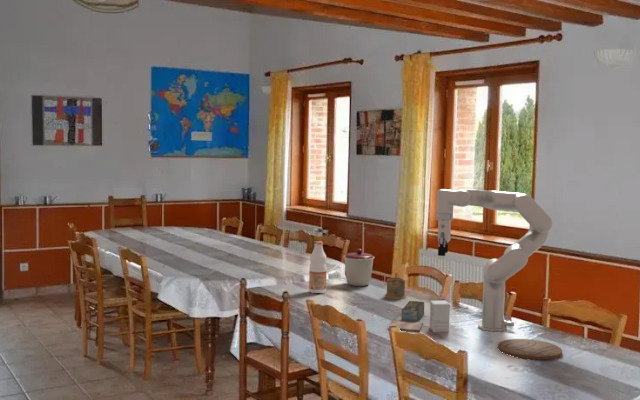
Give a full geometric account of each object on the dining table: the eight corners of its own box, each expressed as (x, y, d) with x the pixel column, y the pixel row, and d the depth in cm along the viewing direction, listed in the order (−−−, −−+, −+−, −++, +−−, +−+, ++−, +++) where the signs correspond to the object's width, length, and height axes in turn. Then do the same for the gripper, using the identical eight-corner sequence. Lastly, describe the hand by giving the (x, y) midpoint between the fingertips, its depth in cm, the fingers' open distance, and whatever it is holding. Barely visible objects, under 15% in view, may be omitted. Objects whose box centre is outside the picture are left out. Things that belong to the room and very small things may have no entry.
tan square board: (422, 324, 329) (422, 322, 328) (419, 332, 315) (419, 330, 315) (392, 322, 332) (392, 319, 332) (387, 329, 318) (387, 327, 318)
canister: (336, 283, 418) (337, 248, 416) (358, 280, 430) (359, 245, 428) (358, 289, 404) (359, 252, 403) (380, 285, 416) (381, 249, 415)
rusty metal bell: (405, 292, 398) (406, 271, 397) (406, 299, 380) (407, 277, 379) (385, 291, 399) (385, 270, 398) (384, 298, 382) (385, 276, 381)
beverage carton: (400, 321, 334) (400, 307, 333) (408, 312, 352) (408, 299, 351) (417, 323, 331) (417, 309, 331) (424, 314, 350) (425, 301, 349)
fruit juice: (305, 292, 393) (306, 241, 391) (317, 289, 400) (318, 240, 398) (317, 294, 387) (318, 243, 384) (329, 292, 393) (330, 242, 391)
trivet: (573, 353, 290) (573, 348, 290) (542, 365, 273) (542, 360, 272) (517, 339, 308) (518, 335, 308) (485, 350, 290) (485, 346, 290)
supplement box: (445, 327, 324) (446, 300, 323) (449, 332, 316) (450, 304, 315) (429, 327, 323) (430, 300, 322) (432, 332, 316) (433, 303, 315)
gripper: (450, 219, 315) (449, 257, 316) (454, 215, 331) (453, 252, 333) (433, 218, 317) (432, 256, 318) (438, 214, 333) (436, 250, 335)
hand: (442, 254), depth 326 cm, fingers open, 9 cm apart
